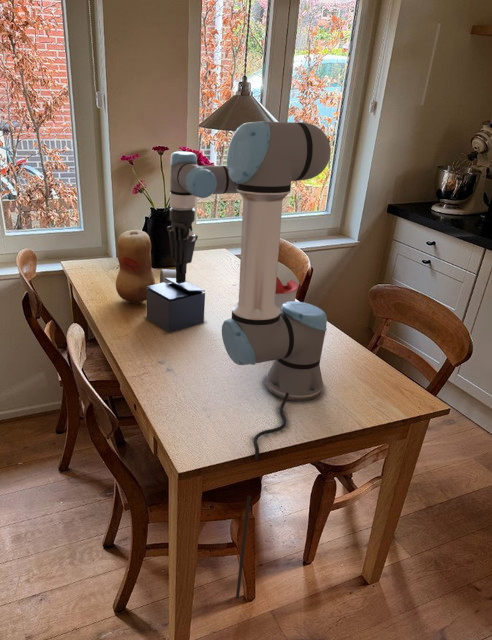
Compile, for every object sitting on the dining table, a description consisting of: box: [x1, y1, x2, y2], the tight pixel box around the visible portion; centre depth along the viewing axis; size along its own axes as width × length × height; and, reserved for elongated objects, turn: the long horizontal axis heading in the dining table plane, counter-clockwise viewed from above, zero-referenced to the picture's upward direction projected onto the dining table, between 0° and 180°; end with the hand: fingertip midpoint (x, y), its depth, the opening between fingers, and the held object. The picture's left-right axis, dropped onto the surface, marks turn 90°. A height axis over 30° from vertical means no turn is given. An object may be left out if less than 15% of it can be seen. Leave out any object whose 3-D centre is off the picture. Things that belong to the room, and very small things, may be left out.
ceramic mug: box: [159, 268, 176, 284], centre depth 200 cm, size 11×8×8 cm
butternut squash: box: [115, 229, 156, 305], centre depth 182 cm, size 14×13×25 cm
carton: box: [145, 282, 206, 334], centre depth 174 cm, size 14×13×11 cm
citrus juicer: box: [275, 276, 299, 312], centre depth 168 cm, size 16×17×20 cm
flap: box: [165, 278, 206, 293], centre depth 173 cm, size 7×13×1 cm, turn 40°
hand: (180, 282), depth 171 cm, fingers closed
